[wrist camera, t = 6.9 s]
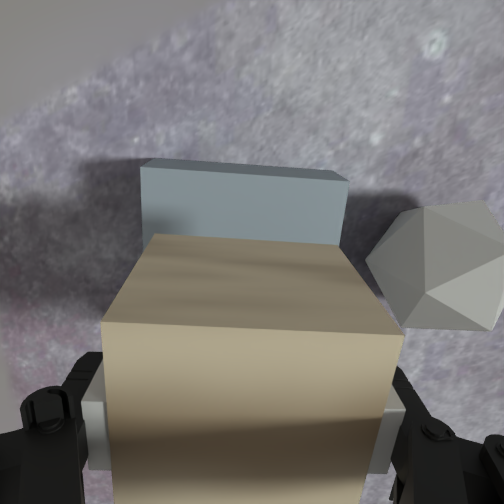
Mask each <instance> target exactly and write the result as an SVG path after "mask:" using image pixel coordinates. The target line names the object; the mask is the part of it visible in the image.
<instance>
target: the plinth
mask: <svg viewBox="0 0 504 504" xmlns="http://www.w3.org/2000/svg"><path fill="white" fill-rule="evenodd" d="M140 176H141V208H142V241H143V252H144V250H145V248H146V247H147V245H148V243H149V242H150V240H151V239H152V237H153V235H154V234H155V233H157V234H172V235H188V236H204V237H220V238H236V239H251V240H267V241H283V242H299V243H315V244H330V245H338V247H339V242H340V237H341V231H342V225H343V219H344V213H345V207H346V201H347V195H348V190H349V184H350V181H348V180H347V179H345V178H344V177H342V176H340V175H339V174H337V173H336V172H334V171H329V170H315V169H301V168H287V167H273V166H259V165H245V164H231V163H218V162H204V161H190V160H176V159H162V158H154V159H152V160H150V161H149V162H147V163H146V164H144V165H142V166H141V167H140Z"/></svg>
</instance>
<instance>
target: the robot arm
mask: <svg viewBox="0 0 504 504" xmlns="http://www.w3.org/2000/svg"><path fill="white" fill-rule="evenodd" d="M20 412H21V417H22V423H23V428H22V429H19V430H15V431H12V432H8V433H3V434H0V504H85V496H84V484H83V474H82V470H83V468H84V465H85V463H86V461H87V458H88V466H89V470H112V469H111V456H110V443H109V429H108V416H107V402H106V389H105V376H104V362H103V352H87V353H86V354H85V355H83V356H82V357H81V358H79V359H78V360H77V362H76V363H75V365H74V366H73V368H72V370H71V372H70V373H69V375H68V376H67V378H66V380H65V381H64V383H63V384H62V386H49V387H45V388H42V389H39V390H37V391H35V392H33V393H32V394H30V395H29V396H28V397H27V398H26V399H25V400H24V401H23V402H22V404H21V407H20ZM391 462H392V464H393V466H394V468H395V471H396V473H397V474H396V477H395V481H394V484H393V487H392V490H391V494H390V497H389V500H391V501H393V504H504V436H502V435H489V436H487V437H486V438H485V441H484V443H483V444H480V443H476V442H473V441H469V440H465V439H462V438H459V437H456V435H455V433H454V432H453V431H452V429H451V428H450V427H449V426H448V425H446V424H445V423H443V422H442V421H440V420H438V419H436V418H434V417H432V416H431V415H430V413H429V412H428V410H427V409H426V407H425V405H424V404H423V402H422V401H421V399H420V398H419V396H418V394H417V393H416V391H415V390H413V387H412V385H411V384H410V382H408V379H407V377H406V376H405V374H404V373H403V371H402V370H401V369H400V368H399V367H398V366H396V370H395V373H394V377H393V381H392V384H391V388H390V392H389V395H388V399H387V403H386V406H385V410H384V413H383V417H382V421H381V424H380V428H379V432H378V435H377V439H376V443H375V446H374V450H373V454H372V457H371V461H370V464H369V468H368V472H367V474H387V473H388V469H389V466H390V463H391Z"/></svg>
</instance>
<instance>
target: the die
mask: <svg viewBox="0 0 504 504" xmlns="http://www.w3.org/2000/svg"><path fill="white" fill-rule="evenodd" d="M365 261H366V263H367V265H368V267H369V269H370V271H371V273H372V274H373V276H374V278H375V280H376V282H377V284H378V286H379V287H380V289H381V291H382V293H383V295H384V297H385V299H386V300H387V302H388V304H389V306H390V308H391V310H392V312H393V313H394V315H395V317H396V319H397V321H398V323H399V325H400V326H401V328H421V329H444V330H467V331H492V329H493V327H494V325H495V323H496V321H497V319H498V317H499V315H500V313H501V311H502V309H503V307H504V232H503V230H502V229H501V227H500V225H499V224H498V222H497V221H496V219H495V218H494V216H493V215H492V213H491V212H490V210H489V208H488V207H487V205H486V204H485V202H484V201H483V200H480V201H471V202H462V203H453V204H444V205H435V206H426V207H420V208H416V209H412V210H407V211H403V212H400V214H399V215H398V216H397V218H396V219H395V220H394V222H393V223H392V224H391V226H390V227H389V228H388V230H387V231H386V232H385V234H384V235H383V236H382V238H381V239H380V240H379V242H378V243H377V244H376V246H375V247H374V248H373V250H372V251H371V252H370V254H369V255H368V256H367V258H366V259H365Z"/></svg>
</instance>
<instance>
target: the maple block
mask: <svg viewBox="0 0 504 504" xmlns="http://www.w3.org/2000/svg"><path fill="white" fill-rule="evenodd" d="M101 336H102V349H103V362H104V376H105V389H106V402H107V416H108V429H109V443H110V456H111V469H112V483H113V496H114V504H359V501H360V497H361V494H362V490H363V486H364V483H365V479H366V475H367V472H368V468H369V464H370V461H371V457H372V454H373V450H374V446H375V443H376V439H377V435H378V432H379V428H380V424H381V421H382V417H383V413H384V410H385V406H386V403H387V399H388V395H389V392H390V388H391V384H392V381H393V377H394V373H395V370H396V366H397V362H398V359H399V355H400V352H401V348H402V344H403V341H404V337H405V335H404V334H403V332H402V331H401V330H400V328H399V327H398V326H397V324H396V323H395V322H394V320H393V319H392V318H391V316H390V315H389V314H388V312H387V311H386V310H385V308H384V307H383V306H382V304H381V303H380V302H379V300H378V299H377V298H376V296H375V295H374V293H373V292H372V291H371V289H370V288H369V287H368V285H367V284H366V283H365V281H364V280H363V279H362V277H361V276H360V275H359V273H358V272H357V271H356V269H355V268H354V267H353V265H352V264H351V263H350V261H349V260H348V259H347V257H346V256H345V255H344V253H343V252H342V251H341V249H340V248H339V247H338V245H330V244H315V243H299V242H283V241H267V240H251V239H236V238H220V237H204V236H188V235H172V234H157V233H155V234H154V235H153V237H152V239H151V240H150V242H149V243H148V245H147V247H146V248H145V250H144V252H143V253H142V255H141V257H140V258H139V260H138V261H137V263H136V265H135V266H134V268H133V270H132V271H131V273H130V274H129V276H128V278H127V279H126V281H125V283H124V284H123V286H122V287H121V289H120V291H119V292H118V294H117V296H116V297H115V299H114V300H113V302H112V304H111V305H110V307H109V309H108V310H107V312H106V314H105V315H104V317H103V318H102V320H101Z"/></svg>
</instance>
